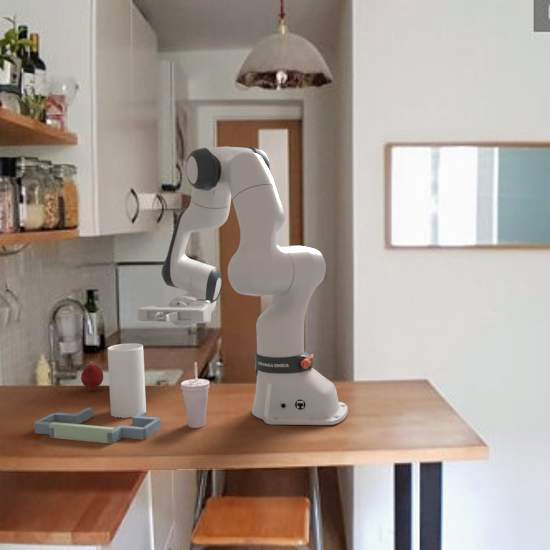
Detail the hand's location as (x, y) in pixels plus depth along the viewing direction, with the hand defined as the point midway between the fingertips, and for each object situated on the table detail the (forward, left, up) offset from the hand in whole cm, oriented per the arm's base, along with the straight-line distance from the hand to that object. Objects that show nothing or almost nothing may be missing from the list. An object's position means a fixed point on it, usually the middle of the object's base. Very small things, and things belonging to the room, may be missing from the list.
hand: (160, 318), depth 151 cm
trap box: (0, +29, -20) cm, 35 cm away
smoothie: (-20, +22, -20) cm, 36 cm away
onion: (+20, +3, -20) cm, 29 cm away
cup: (0, +18, -20) cm, 27 cm away
